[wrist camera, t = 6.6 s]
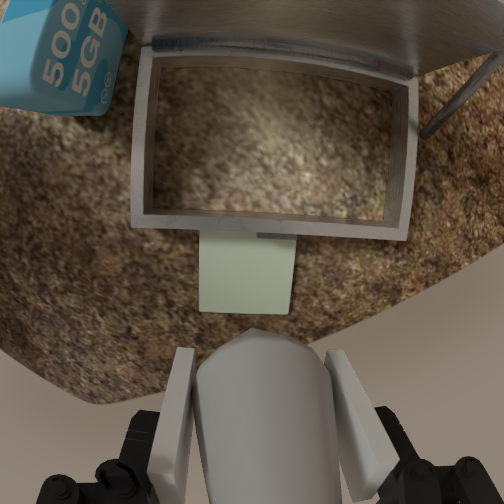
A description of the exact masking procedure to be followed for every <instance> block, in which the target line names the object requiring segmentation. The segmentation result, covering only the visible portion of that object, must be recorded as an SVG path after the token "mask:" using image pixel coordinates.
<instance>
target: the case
mask: <svg viewBox="0 0 504 504" xmlns="http://www.w3.org/2000/svg"><path fill="white" fill-rule="evenodd" d="M105 2H106V3H107V4H108V5H109V6H110V7H111V9H112V10H113V11H114V12H115V13H116V14H117V16H118V17H119V18H120V19H121V20H122V21H123V23H124V24H125V25H126V26H127V27H128V29H129V30H130V31H131V32H132V33H133V35H134V36H135V37H136V38H137V39H138V41H139V42H140V43H141V44H142V45H146V44H151V46H148V47H142V48H141V55H140V62H139V70H138V78H137V87H136V96H135V107H134V119H133V134H132V154H131V228H162V229H191V230H217V231H240V232H256V236H257V238H261V239H282V240H297V235H298V234H301V235H319V236H336V237H352V238H368V239H383V240H398V241H406V240H407V234H408V228H409V221H410V214H411V207H412V199H413V190H414V181H415V170H416V157H417V140H418V78H415V77H413V76H414V75H415V76H421V75H424V74H426V73H429V72H432V71H435V70H438V69H441V68H443V67H446V66H449V65H452V64H455V63H458V62H461V61H465V60H468V59H471V58H474V57H478V56H481V55H484V54H488V53H491V52H492V53H491V54H490V56H489V57H488V58H487V59H486V60H485V61H484V62H483V64H482V65H481V66H480V67H479V68H478V69H477V70H476V72H475V73H474V74H473V75H472V76H471V77H470V78H469V79H468V80H467V82H466V83H465V84H464V85H463V86H462V87H461V88H460V89H459V90H458V91H457V93H456V94H455V95H454V96H453V97H452V98H451V99H450V100H449V101H448V102H447V103H446V105H445V106H444V107H443V108H442V109H441V110H440V111H439V112H438V113H437V114H436V115H435V116H434V117H433V118H432V120H431V121H430V122H429V123H428V124H427V125H426V126H425V127H424V128H423V129H422V130H421V131H420V132H419V135H420V137H421V138H422V139H423V140H425V141H426V140H428V139H429V138H430V137H431V136H432V135H433V134H434V133H435V132H436V131H437V130H438V129H439V128H440V127H441V126H442V125H443V124H444V123H445V122H446V121H447V120H448V119H449V118H450V117H451V116H452V115H453V114H454V113H455V112H456V111H457V110H458V109H459V108H460V107H461V106H462V105H463V104H464V103H465V102H466V101H467V100H468V99H469V98H470V97H471V96H472V95H473V94H474V93H475V92H476V91H477V90H478V88H479V87H480V86H481V85H482V84H483V83H484V82H485V81H486V80H487V79H488V78H489V77H490V76H491V75H492V74H493V73H494V72H495V71H496V70H497V69H498V67H499V66H500V65H501V64H502V63H503V62H504V0H105ZM179 67H223V68H246V69H260V70H271V71H281V72H290V73H298V74H305V75H312V76H318V77H324V78H330V79H336V80H341V81H346V82H351V83H356V84H360V85H365V86H369V87H373V88H378V89H382V90H385V91H389V92H392V120H391V142H390V157H389V170H388V181H387V191H386V200H385V208H384V216H383V221H374V220H362V219H350V218H338V217H325V216H311V215H296V214H280V213H262V212H242V211H220V210H192V209H153V187H154V155H155V136H156V120H157V108H158V96H159V86H160V77H161V68H179Z"/></svg>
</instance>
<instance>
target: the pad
mask: <svg viewBox="0 0 504 504" xmlns="http://www.w3.org/2000/svg"><path fill="white" fill-rule="evenodd" d="M295 250H296V240H282V239H261V238H257V236H256V232H240V231H217V230H200V233H199V312H217V313H244V314H288V312H289V304H290V295H291V287H292V278H293V269H294V259H295Z"/></svg>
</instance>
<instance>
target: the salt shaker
mask: <svg viewBox="0 0 504 504" xmlns="http://www.w3.org/2000/svg"><path fill="white" fill-rule="evenodd" d="M192 406H193V413H194V419H195V426H196V433H197V439H198V445H199V450H200V456H201V462H202V467H203V473H204V478H205V483H206V488H207V493H208V497H209V503H210V504H342V496H341V483H340V471H339V459H338V445H337V433H336V421H335V411H334V401H333V391H332V382H331V374H330V373H329V371H328V370H327V368H326V367H325V366H324V364H323V363H322V361H321V360H320V358H319V357H318V356H317V354H316V353H315V352H314V350H313V349H312V348H311V347H309V346H307V345H305V344H303V343H301V342H300V341H298V340H296V339H294V338H292V337H290V336H286V335H282V334H277V333H272V332H268V331H263V330H259V329H255V328H250V329H249V330H247V331H245V332H244V333H242V334H240V335H239V336H237V337H235V338H234V339H232V340H230V341H229V342H227V343H225V344H224V345H222V346H220V347H219V348H218V349H216V350H215V351H214V352H213V353H212V354H211V355H210V356H209V357H208V358H207V359H206V360H205V361H204V362H203V363H202V364H201V365H200V367H199V369H198V371H197V374H196V378H195V382H194V386H193V390H192Z"/></svg>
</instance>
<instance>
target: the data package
mask: <svg viewBox="0 0 504 504" xmlns="http://www.w3.org/2000/svg"><path fill="white" fill-rule="evenodd" d="M127 33H128V27H127V26H126V25H125V24H124V23H123V21H122V20H121V19H120V18H119V17H118V16H117V14H116V13H115V12H114V11H113V10H112V9H111V7H110V6H109V5H108V4H107V3H106V2H105V0H10V1H9V3H8V5H7V8H6V10H5V12H4V15H3V18H2V20H1V23H0V106H2V107H9V108H16V109H22V110H28V111H34V112H40V113H45V114H50V115H56V116H101V115H103V114H105V113H106V112H107V110H108V109H109V106H110V104H111V100H112V95H113V90H114V85H115V80H116V76H117V71H118V67H119V63H120V59H121V55H122V51H123V47H124V43H125V40H126V36H127Z"/></svg>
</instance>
